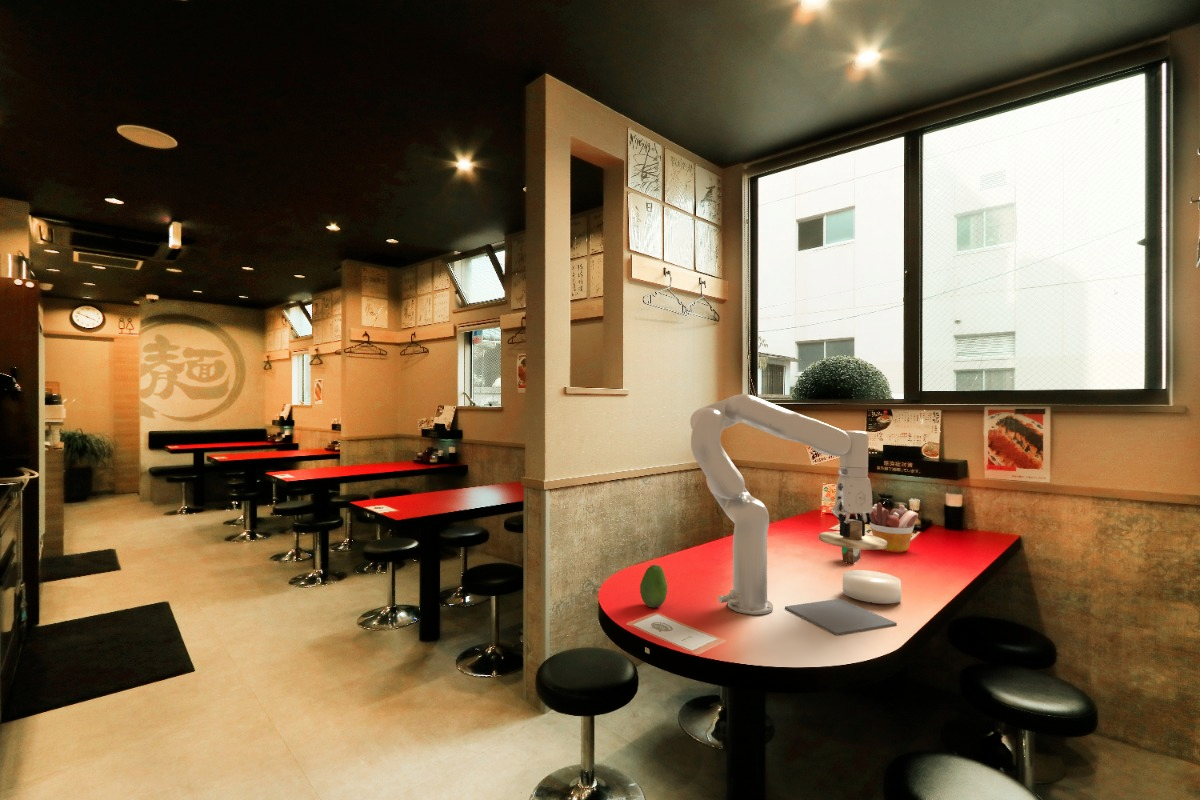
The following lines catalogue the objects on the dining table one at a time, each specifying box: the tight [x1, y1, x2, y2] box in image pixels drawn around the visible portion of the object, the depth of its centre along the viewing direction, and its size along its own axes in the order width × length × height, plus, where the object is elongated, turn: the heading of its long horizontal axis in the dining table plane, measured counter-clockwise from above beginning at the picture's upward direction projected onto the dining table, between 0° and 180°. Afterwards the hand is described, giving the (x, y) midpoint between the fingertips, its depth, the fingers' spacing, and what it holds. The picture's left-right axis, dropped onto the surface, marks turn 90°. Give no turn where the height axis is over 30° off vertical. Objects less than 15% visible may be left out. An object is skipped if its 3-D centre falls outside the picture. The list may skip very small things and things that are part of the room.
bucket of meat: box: [868, 502, 919, 552], centre depth 226 cm, size 20×16×20 cm
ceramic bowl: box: [842, 569, 902, 604], centre depth 166 cm, size 16×16×6 cm
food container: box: [841, 547, 862, 565], centre depth 208 cm, size 12×6×10 cm, turn 141°
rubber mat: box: [784, 598, 898, 636], centre depth 151 cm, size 20×20×1 cm
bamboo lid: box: [818, 518, 887, 551], centre depth 159 cm, size 18×18×6 cm
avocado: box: [639, 564, 668, 608], centre depth 159 cm, size 8×8×12 cm
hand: (852, 535), depth 159 cm, fingers closed on bamboo lid, 5 cm apart
